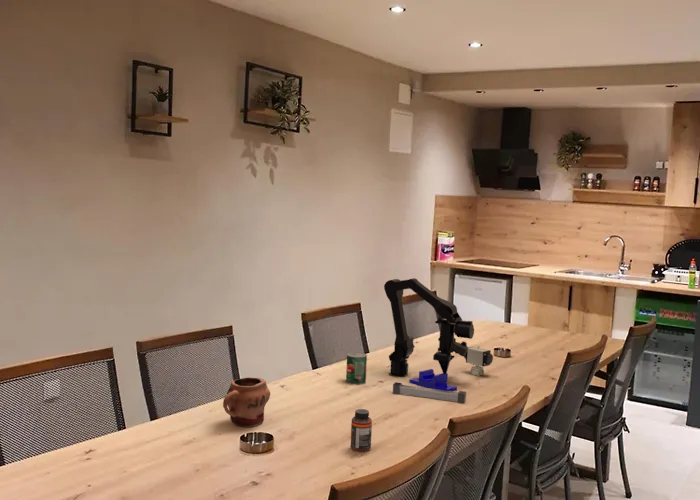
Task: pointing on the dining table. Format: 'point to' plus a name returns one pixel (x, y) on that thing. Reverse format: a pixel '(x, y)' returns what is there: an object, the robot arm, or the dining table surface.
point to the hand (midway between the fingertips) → (444, 374)
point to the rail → (429, 393)
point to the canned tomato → (356, 368)
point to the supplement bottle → (361, 431)
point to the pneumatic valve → (478, 359)
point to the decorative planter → (247, 401)
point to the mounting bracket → (433, 381)
